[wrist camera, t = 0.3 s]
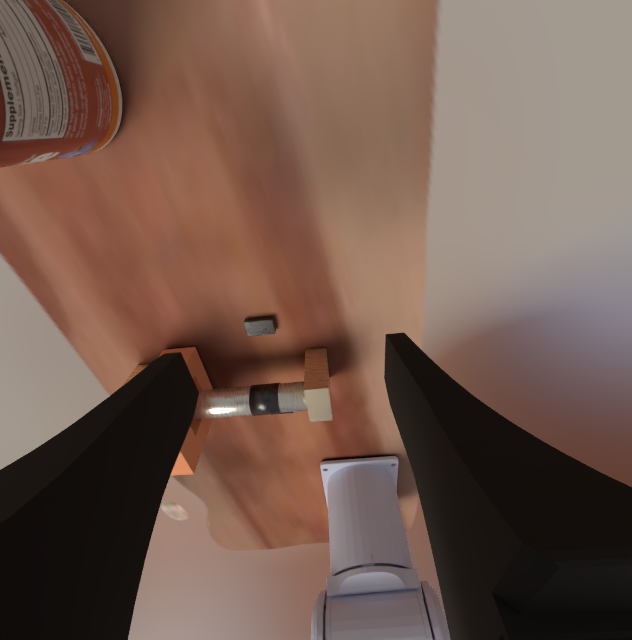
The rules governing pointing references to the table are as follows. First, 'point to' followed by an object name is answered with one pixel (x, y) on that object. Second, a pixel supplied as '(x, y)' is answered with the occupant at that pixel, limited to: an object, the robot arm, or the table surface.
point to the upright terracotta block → (198, 427)
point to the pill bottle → (53, 84)
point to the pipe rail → (270, 388)
